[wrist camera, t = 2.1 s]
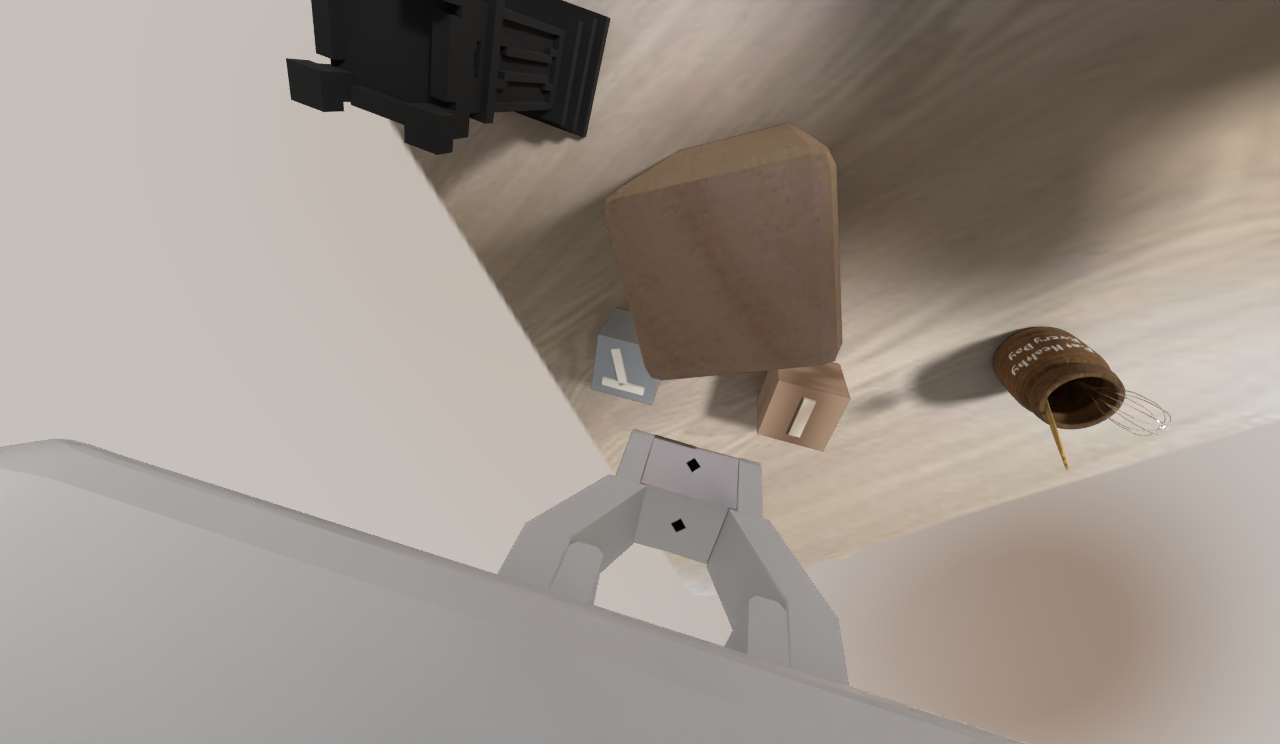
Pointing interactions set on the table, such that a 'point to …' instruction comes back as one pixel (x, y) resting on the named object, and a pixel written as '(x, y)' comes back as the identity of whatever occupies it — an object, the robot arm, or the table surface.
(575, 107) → the chess piece
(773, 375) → the walnut numbered cube
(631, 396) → the slate numbered cube
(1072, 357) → the utensil holder
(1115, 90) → the table surface
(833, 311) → the block
